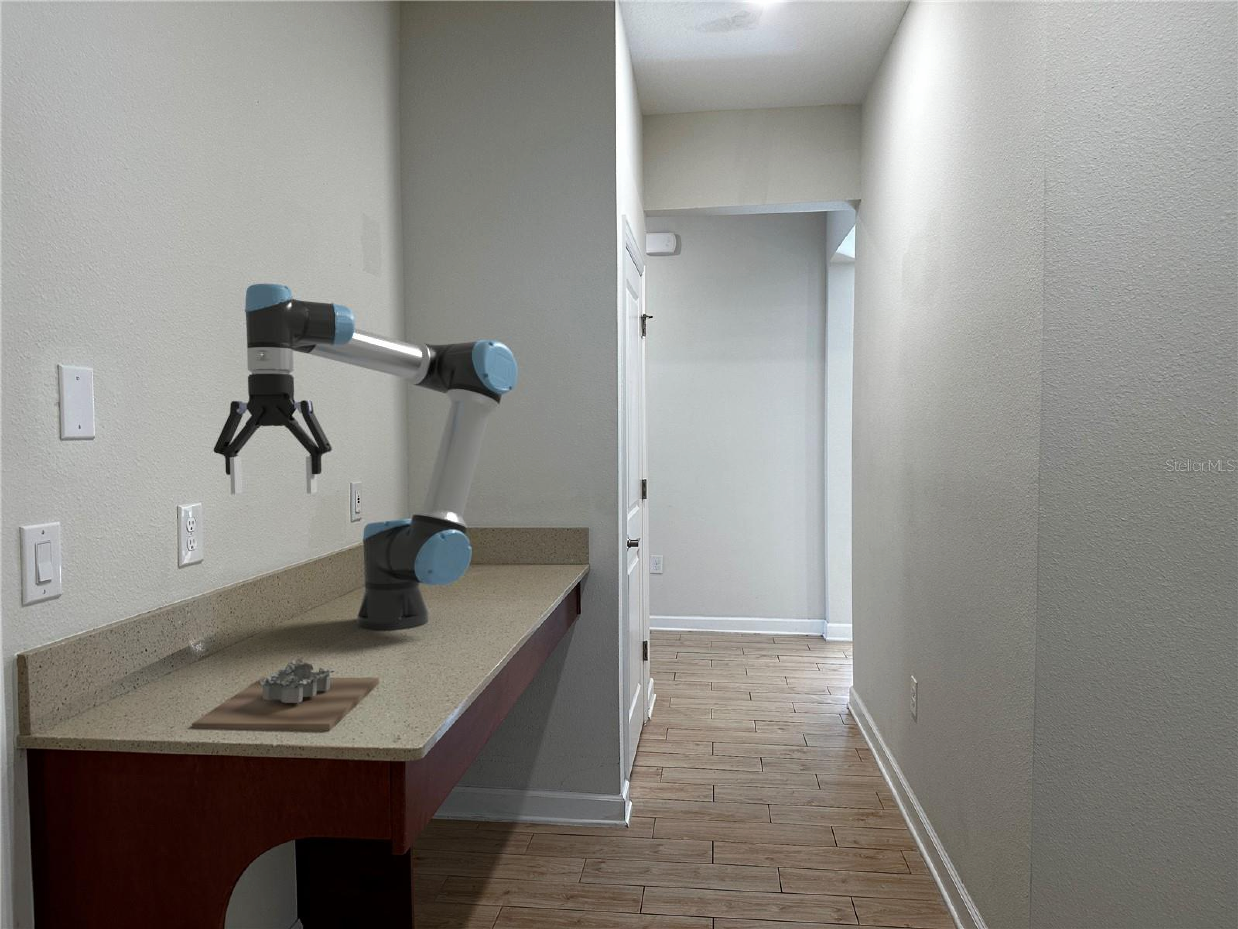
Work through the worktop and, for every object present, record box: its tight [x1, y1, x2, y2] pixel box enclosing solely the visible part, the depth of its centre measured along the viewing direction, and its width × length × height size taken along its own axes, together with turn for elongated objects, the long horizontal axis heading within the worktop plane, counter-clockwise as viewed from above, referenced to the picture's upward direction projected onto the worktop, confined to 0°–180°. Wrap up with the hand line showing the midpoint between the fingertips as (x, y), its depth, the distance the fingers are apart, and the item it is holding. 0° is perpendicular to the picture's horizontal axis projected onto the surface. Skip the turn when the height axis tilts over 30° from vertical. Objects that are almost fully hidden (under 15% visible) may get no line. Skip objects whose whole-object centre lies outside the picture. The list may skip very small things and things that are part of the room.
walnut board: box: [191, 677, 380, 732], centre depth 133 cm, size 22×20×1 cm
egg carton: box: [257, 657, 335, 703], centre depth 133 cm, size 11×8×4 cm
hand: (274, 493), depth 152 cm, fingers open, 13 cm apart
